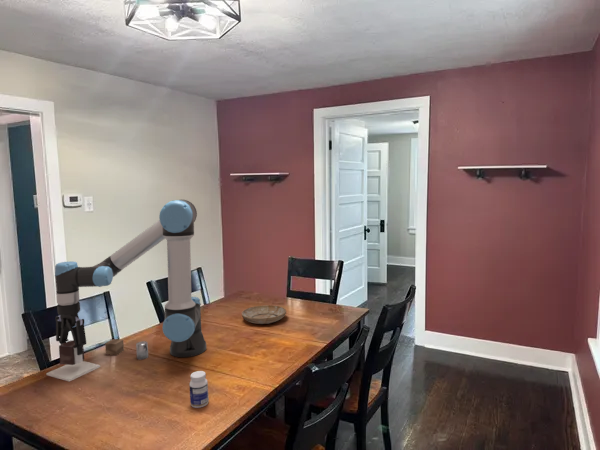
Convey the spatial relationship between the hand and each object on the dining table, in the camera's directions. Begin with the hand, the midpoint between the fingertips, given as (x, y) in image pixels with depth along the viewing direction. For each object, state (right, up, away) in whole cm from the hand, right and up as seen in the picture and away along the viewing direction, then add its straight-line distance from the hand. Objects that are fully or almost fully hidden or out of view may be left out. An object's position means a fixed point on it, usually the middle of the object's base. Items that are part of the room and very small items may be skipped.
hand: (72, 360), depth 157 cm
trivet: (0, -4, 0) cm, 4 cm away
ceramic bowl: (+69, +2, +56) cm, 89 cm away
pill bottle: (+55, -5, -26) cm, 61 cm away
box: (0, -1, 0) cm, 1 cm away
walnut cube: (+9, -2, +17) cm, 20 cm away
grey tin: (+23, -2, +12) cm, 26 cm away
